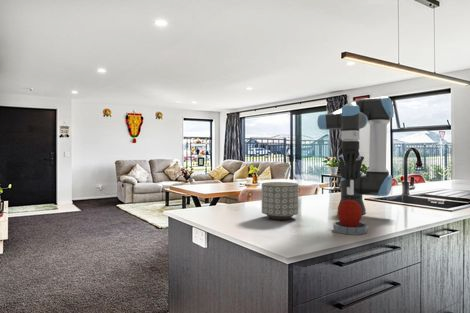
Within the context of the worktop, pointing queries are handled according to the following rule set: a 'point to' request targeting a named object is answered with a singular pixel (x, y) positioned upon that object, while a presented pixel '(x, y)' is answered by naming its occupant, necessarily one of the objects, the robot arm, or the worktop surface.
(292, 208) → the planter
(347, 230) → the grey shallow round dish
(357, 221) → the apple
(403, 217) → the worktop surface
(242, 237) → the worktop surface
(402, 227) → the worktop surface
